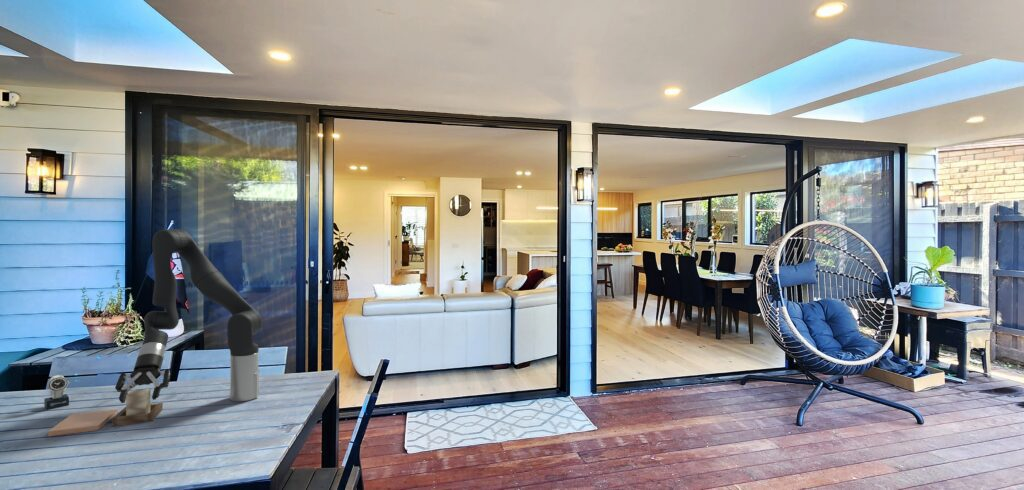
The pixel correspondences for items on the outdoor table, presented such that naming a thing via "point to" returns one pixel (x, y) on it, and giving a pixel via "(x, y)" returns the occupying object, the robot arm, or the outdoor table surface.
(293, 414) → the outdoor table surface
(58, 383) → the watch
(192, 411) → the outdoor table surface
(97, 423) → the terracotta tile
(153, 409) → the walnut pocket frame
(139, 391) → the ash block
